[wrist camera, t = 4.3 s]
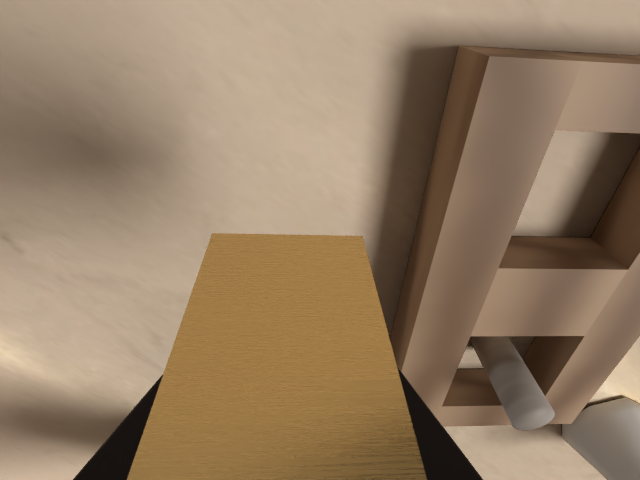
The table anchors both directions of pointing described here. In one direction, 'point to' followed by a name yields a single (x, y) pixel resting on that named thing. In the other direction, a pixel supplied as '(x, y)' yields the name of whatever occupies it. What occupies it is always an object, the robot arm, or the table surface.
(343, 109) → the table surface
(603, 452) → the flask
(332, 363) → the peg
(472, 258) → the plate
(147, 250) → the table surface
